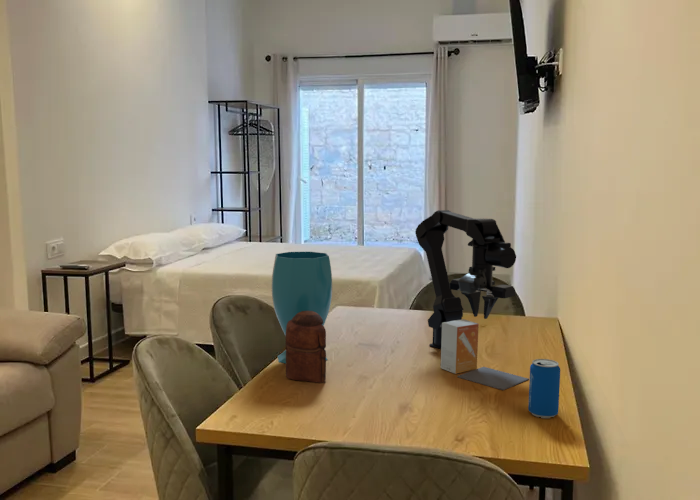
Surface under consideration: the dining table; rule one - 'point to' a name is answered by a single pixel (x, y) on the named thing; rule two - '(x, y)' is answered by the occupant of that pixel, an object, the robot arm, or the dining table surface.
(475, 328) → the small box
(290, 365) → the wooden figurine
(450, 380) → the dining table surface
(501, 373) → the mat
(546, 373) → the beverage can
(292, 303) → the vase
